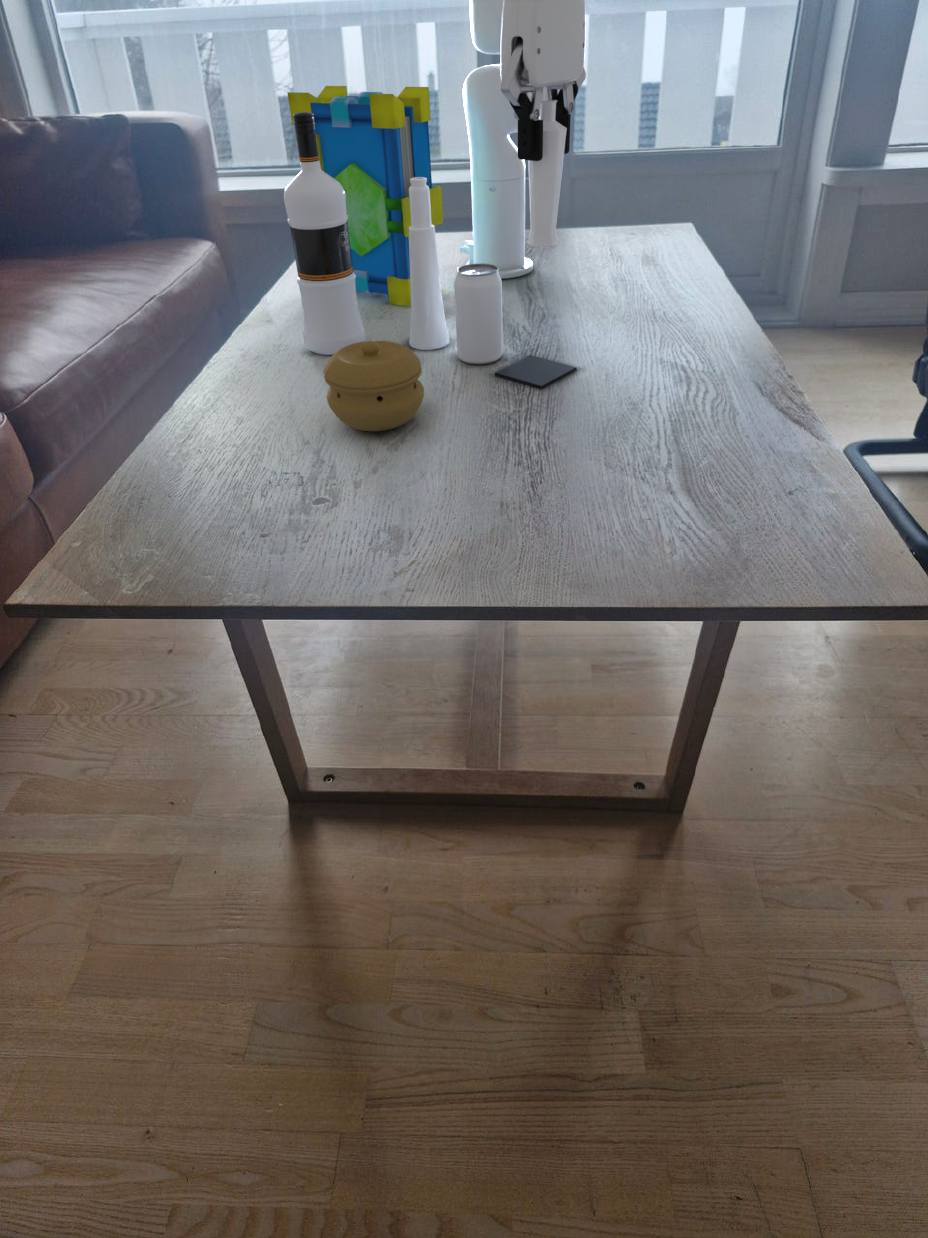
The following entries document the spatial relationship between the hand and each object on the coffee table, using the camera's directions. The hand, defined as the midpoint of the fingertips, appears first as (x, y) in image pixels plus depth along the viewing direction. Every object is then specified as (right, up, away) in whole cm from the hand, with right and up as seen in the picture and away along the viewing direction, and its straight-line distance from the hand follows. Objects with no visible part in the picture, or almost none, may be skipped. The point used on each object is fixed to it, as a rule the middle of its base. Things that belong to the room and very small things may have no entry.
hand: (543, 154), depth 93 cm
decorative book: (-25, +4, +48) cm, 54 cm away
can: (-7, -17, +21) cm, 28 cm away
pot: (-20, -30, +5) cm, 37 cm away
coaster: (0, -21, +15) cm, 26 cm away
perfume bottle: (0, -8, +6) cm, 10 cm away
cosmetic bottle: (-15, -13, +26) cm, 33 cm away
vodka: (-29, -13, +27) cm, 42 cm away
